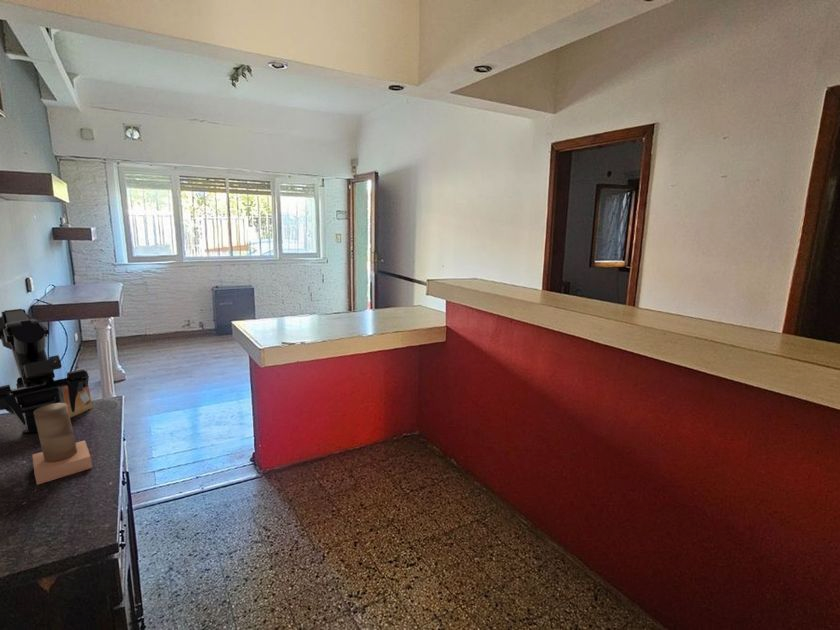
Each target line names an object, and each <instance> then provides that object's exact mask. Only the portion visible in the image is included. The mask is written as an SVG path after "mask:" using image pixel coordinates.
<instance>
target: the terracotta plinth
mask: <svg viewBox="0 0 840 630" xmlns="http://www.w3.org/2000/svg"><path fill="white" fill-rule="evenodd" d="M75 444H76V448H77V452H76V454H75V455H73V456H72V457H70V458H67V459H65V460H62V461H58V462H46V461H45V460H44V456H43V451H41V452H38V453H37V452H36V453H34V454H33V453H32V463H33V464H32V465H33V471H34V472H33V473H34V478H35V482H36V486H39V485H40V484H44V483H47V482H52V481H53V480H56V479H60V478H64V477H67V476H70V475H73V474H77V473H80V472H83V471H85V470H91V469H92V468H93V463H92V458H91V455H90V451H89V448H88V446H87V442H86V440H80V441H78V442H75Z"/></svg>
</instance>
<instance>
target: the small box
mask: <svg viewBox="0 0 840 630" xmlns="http://www.w3.org/2000/svg"><path fill="white" fill-rule="evenodd" d="M58 388H59V391H60V400H61V402H60V403H66V404H67V407H68V411H69V416H70V419H71V418H72V417H73V418H74V417H75V416H78V415H80V414H82V413H84V411H85V412H87V411H88V409H90V408H92V409H93V405H92V398H91V394H90V392H91V391H90V388H89V385H88V386H87V387H85V388H83V390H82V391H80V392H78V394H77V397H76V402H75V412H73V413H72V410H71V406H70V400H69V393H68V391H69V388H68V385H67V386H63V387H58ZM82 402H84V403H82ZM86 410H87V411H86ZM90 410H91V409H90Z"/></svg>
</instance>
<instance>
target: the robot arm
mask: <svg viewBox="0 0 840 630" xmlns="http://www.w3.org/2000/svg"><path fill="white" fill-rule="evenodd" d="M49 334H50V331H49V329H48V327H46V326H45V325H44V324H43V323H40V322H39V321H38V320H37V319H34V318H33V317H32V316H30V315H29V314H27V312H26V310H25V309H24V308H23V309H22V308H16V309H8V310H3V311H1V316H0V341H1V343H2V346H3V347H4V348H7V349H9V350H11V352H12V354H13V358H14V360H15V361H14V362H15V364H16V367H17V371H18V374H19V377H17V378H16V384H15V385H16V386H15V387H16V388H14V389H11V385H10V384H6V385H0V411H3V410H6V412H8V413H10V414H11V415H12V416H13V417H15V419H17V420H18V422H20V423H21V424H22V425H23V426H26V427H27V428H25V429H24V430H22V431H21V433H22V434H32V433H33V434H35V433H38V430H37V426H36V422H35V417H34V413H33V412H34V410H36V409H38V408H40V407H42V406H45V405H49V404H54V403H60V402H61V400H60V391H59V388H58V387H63V386H67V385H68V388H69V391H68V393H69V400H70V406H71V410H72V413H73V412H75V402H76V397H77V394H78V392H80V391H82V390H83V388H85V387H87V386H89V378H90V376H89V373H88V371H87V370H86V369H84V368H83V369H78V370H74V371H69V372H66V377H64V378H60V379H56V380H55V379H54V378H55V377H56V375H55V372H54V370H55V371H56V370H59V369H61V368H62V362H61V358H60V356H59V355H52V356H51V355H50V356H49V357H48V356H47V353H46V350H45V349H46V338H47V337H48V335H49Z"/></svg>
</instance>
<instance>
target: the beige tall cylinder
mask: <svg viewBox="0 0 840 630" xmlns="http://www.w3.org/2000/svg"><path fill="white" fill-rule="evenodd" d="M33 413H34V417H35V422H36V426H37V430H38V432H37V434H38V437H39V443H40V445H41V446H40V447H41V452H43V456H44V460H45V461H46V462H58V461H62V460H65V459H67V458H70V457H72V456H73V455H75V454H76V452H77V448H76V444H75V443H76V440H75V435H74V430H73V425H72V420H71V418H70V416H69V411H68V407H67V404H66V403H54V404H49V405H45V406H42V407H40V408H38V409H36V410H34V412H33Z"/></svg>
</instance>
